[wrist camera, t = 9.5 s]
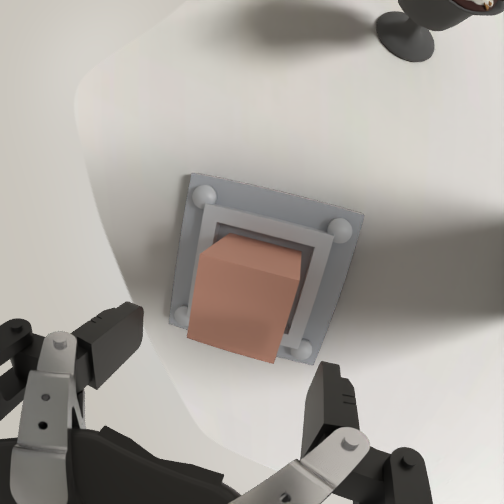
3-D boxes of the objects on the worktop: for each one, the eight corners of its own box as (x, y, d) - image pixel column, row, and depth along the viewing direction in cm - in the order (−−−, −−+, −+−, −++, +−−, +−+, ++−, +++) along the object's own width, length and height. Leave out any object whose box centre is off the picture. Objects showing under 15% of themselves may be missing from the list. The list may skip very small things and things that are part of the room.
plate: (361, 213, 19) (367, 216, 17) (313, 357, 23) (313, 372, 20) (197, 173, 21) (186, 172, 19) (174, 317, 24) (163, 328, 22)
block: (301, 251, 20) (299, 280, 14) (282, 316, 21) (273, 363, 15) (229, 232, 20) (199, 253, 14) (216, 298, 21) (186, 337, 16)
